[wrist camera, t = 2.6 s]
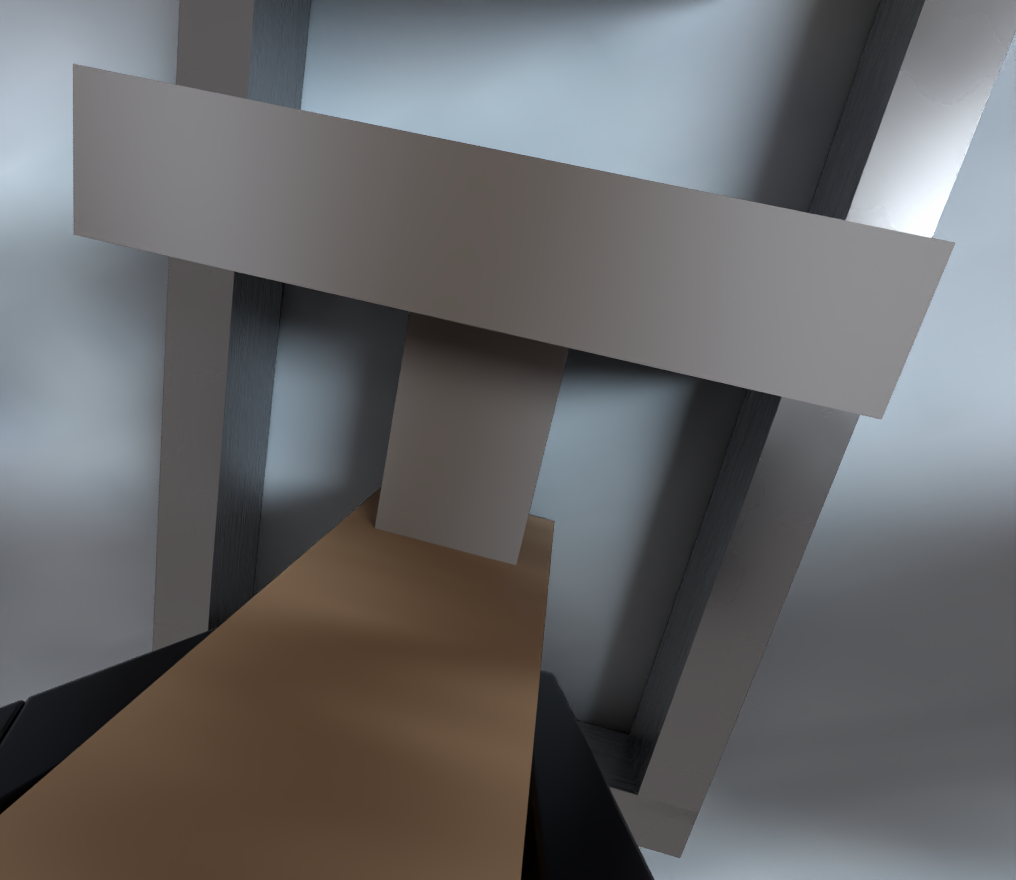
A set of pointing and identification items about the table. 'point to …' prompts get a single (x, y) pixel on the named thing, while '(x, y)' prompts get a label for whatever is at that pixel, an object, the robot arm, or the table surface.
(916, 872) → the table surface
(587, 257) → the press carriage
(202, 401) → the frame
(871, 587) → the table surface
